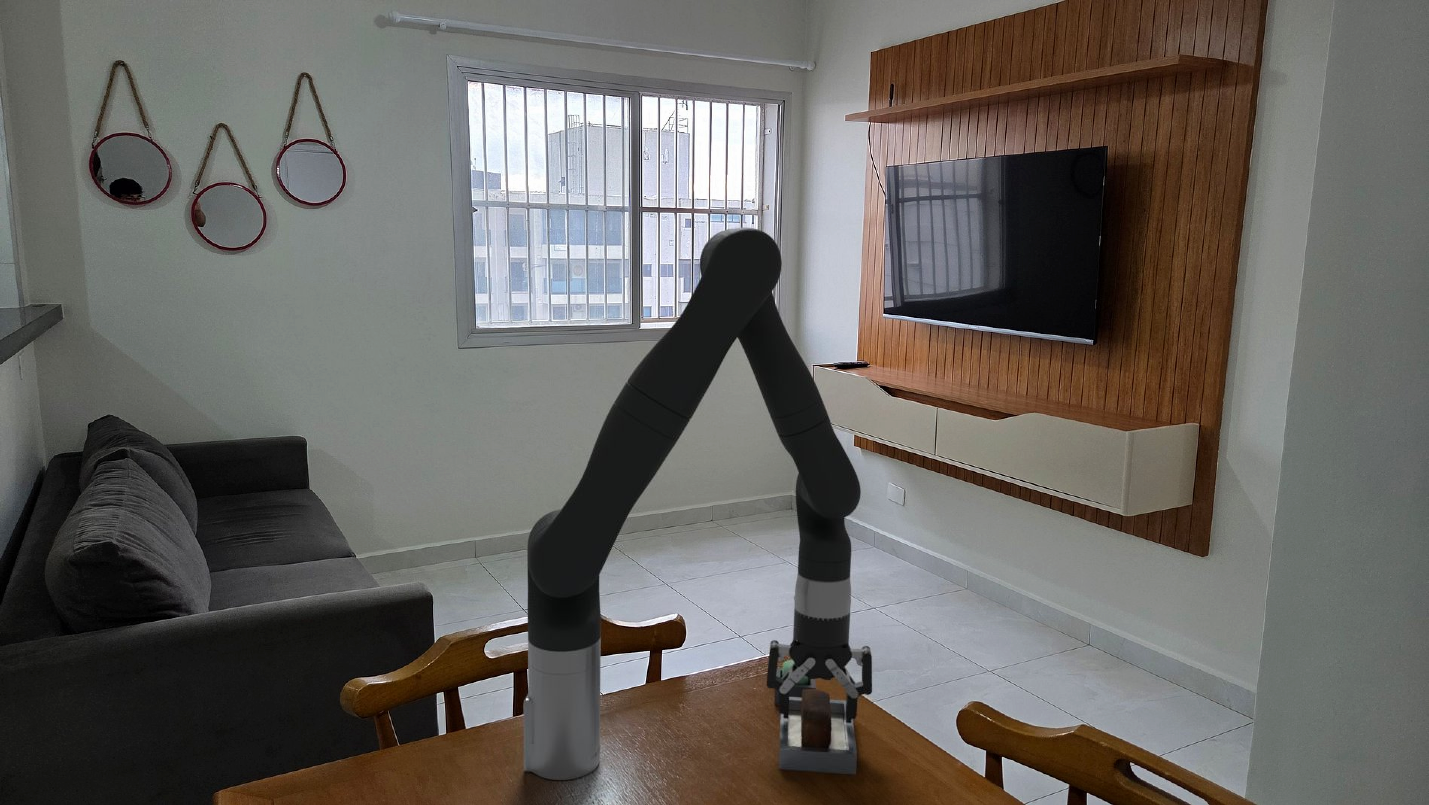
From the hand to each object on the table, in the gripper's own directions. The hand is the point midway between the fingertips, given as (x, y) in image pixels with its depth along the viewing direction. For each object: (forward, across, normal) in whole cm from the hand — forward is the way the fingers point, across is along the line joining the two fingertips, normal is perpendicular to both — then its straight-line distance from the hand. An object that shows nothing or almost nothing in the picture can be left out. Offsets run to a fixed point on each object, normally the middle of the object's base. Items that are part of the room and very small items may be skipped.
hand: (817, 718), depth 130 cm
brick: (+3, 0, 0) cm, 3 cm away
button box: (+4, -3, +14) cm, 14 cm away
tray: (+4, 0, 0) cm, 4 cm away
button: (+1, -3, +14) cm, 14 cm away
